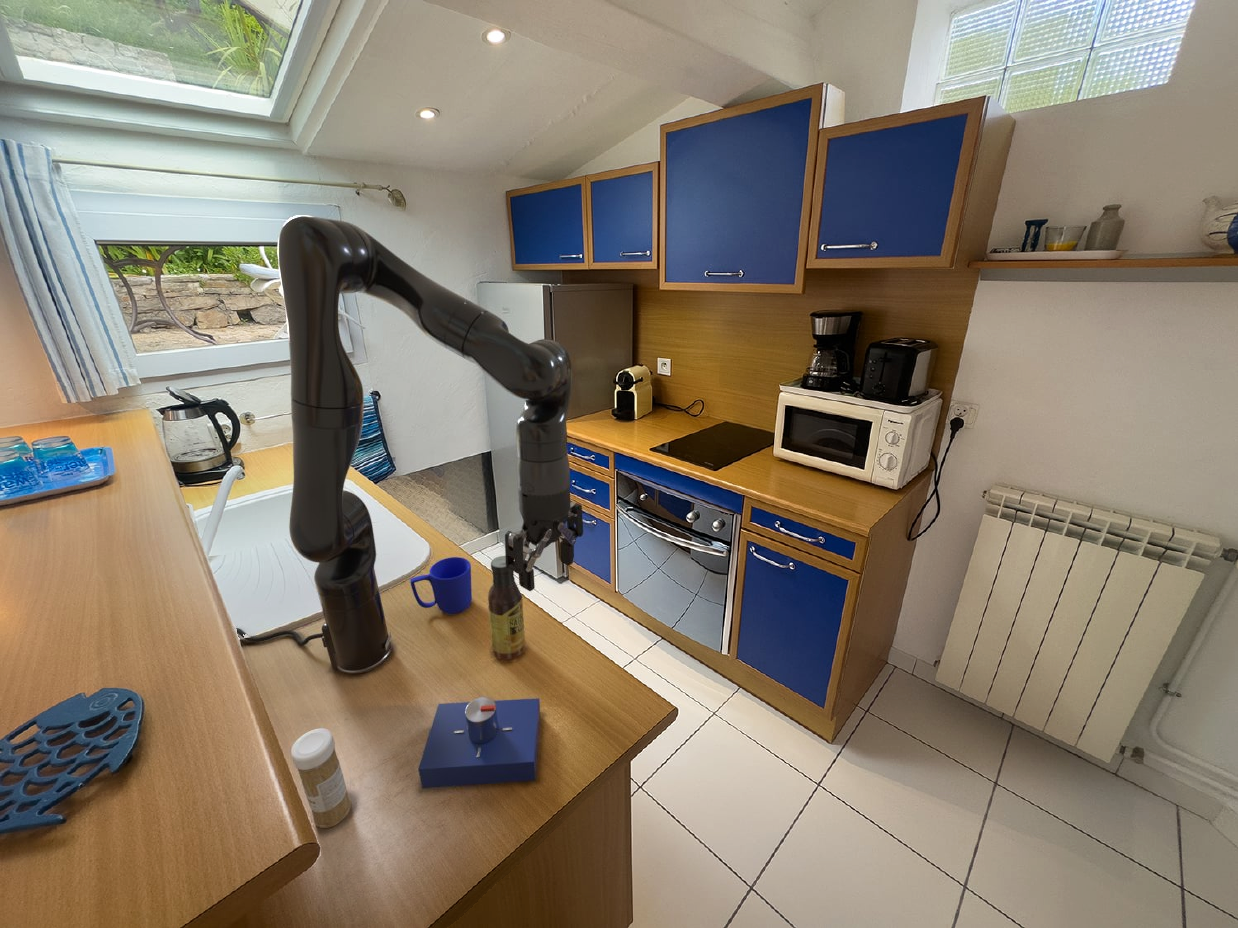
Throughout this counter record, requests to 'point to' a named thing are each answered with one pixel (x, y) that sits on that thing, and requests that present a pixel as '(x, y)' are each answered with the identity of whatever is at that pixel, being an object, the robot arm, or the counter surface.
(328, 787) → the sprinkles bottle
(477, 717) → the silver pointer knob
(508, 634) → the sauce bottle
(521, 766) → the blue knob base block
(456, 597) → the mug
